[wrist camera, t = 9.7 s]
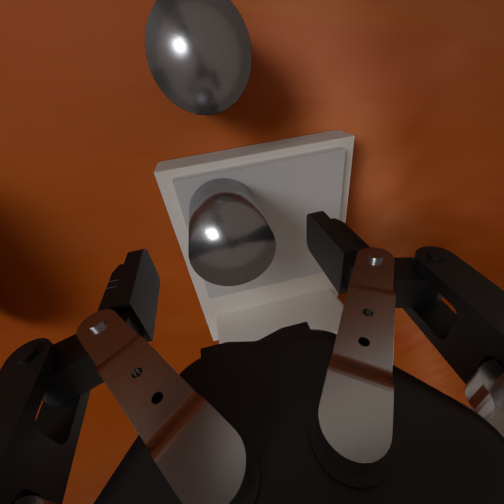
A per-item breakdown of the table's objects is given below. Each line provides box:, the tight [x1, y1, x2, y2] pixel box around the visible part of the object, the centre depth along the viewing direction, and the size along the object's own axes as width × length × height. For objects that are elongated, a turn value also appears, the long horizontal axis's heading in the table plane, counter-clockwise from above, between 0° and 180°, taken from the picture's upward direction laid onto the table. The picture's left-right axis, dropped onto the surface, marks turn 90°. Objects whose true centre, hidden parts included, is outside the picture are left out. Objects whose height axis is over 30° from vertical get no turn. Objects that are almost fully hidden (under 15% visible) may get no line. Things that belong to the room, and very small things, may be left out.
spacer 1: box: [145, 0, 252, 115], centre depth 13 cm, size 4×4×5 cm
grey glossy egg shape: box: [188, 178, 276, 286], centre depth 15 cm, size 4×4×5 cm
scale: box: [154, 130, 355, 344], centre depth 20 cm, size 17×13×7 cm
